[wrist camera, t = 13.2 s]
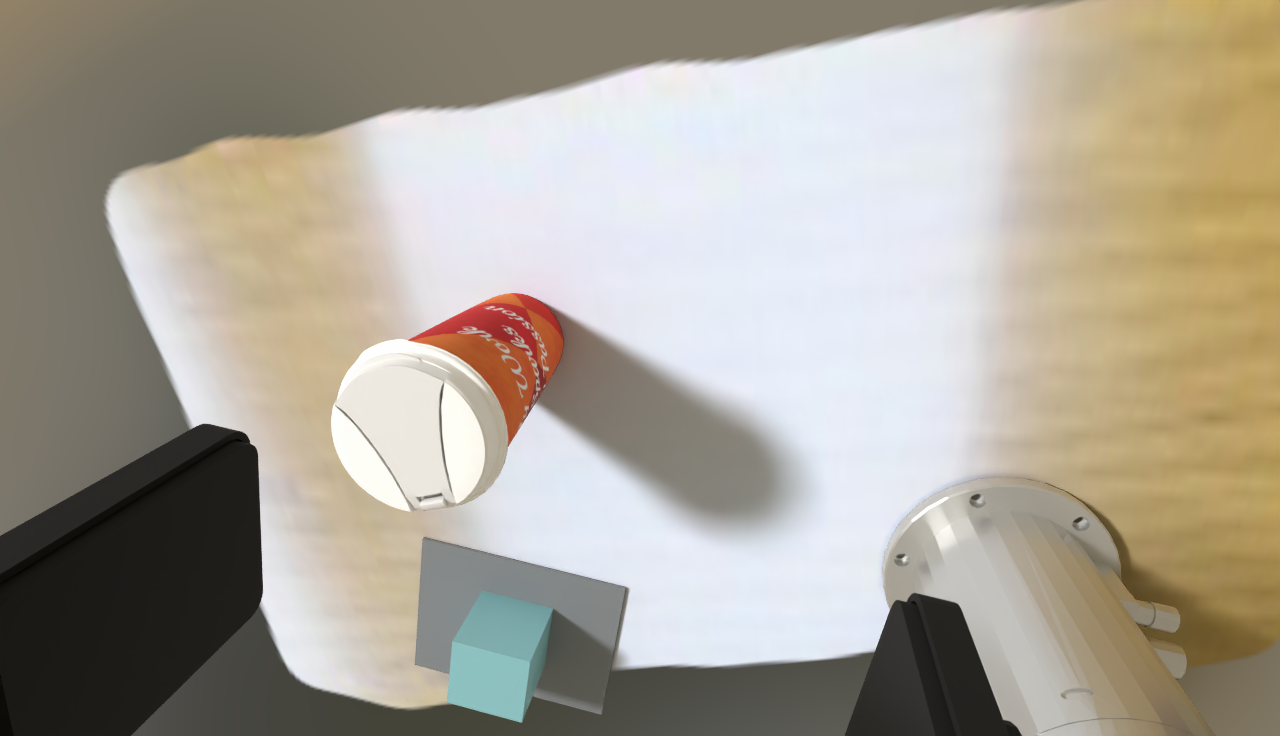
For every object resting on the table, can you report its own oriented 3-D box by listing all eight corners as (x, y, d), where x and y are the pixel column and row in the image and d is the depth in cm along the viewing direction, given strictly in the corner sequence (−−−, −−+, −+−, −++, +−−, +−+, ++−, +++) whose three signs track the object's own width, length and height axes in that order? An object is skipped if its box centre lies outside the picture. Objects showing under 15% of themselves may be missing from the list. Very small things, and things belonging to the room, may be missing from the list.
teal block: (553, 608, 48) (530, 661, 44) (544, 665, 50) (521, 722, 46) (482, 590, 49) (452, 641, 44) (476, 647, 51) (446, 702, 46)
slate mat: (626, 587, 47) (625, 589, 47) (602, 712, 51) (601, 714, 51) (424, 537, 48) (422, 539, 48) (416, 662, 52) (415, 664, 52)
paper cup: (597, 386, 42) (521, 509, 29) (480, 409, 44) (361, 534, 31) (558, 258, 40) (458, 331, 27) (437, 288, 42) (289, 369, 29)
